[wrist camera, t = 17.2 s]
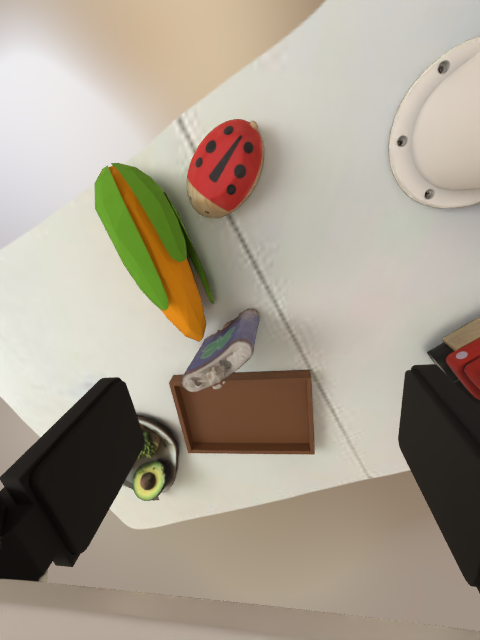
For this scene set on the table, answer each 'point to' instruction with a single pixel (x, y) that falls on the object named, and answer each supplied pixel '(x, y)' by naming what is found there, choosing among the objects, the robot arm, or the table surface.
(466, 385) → the toy fire truck
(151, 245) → the corn
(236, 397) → the tray
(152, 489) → the avocado toast plate
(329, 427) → the table surface
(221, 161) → the ladybug figurine
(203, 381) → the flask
